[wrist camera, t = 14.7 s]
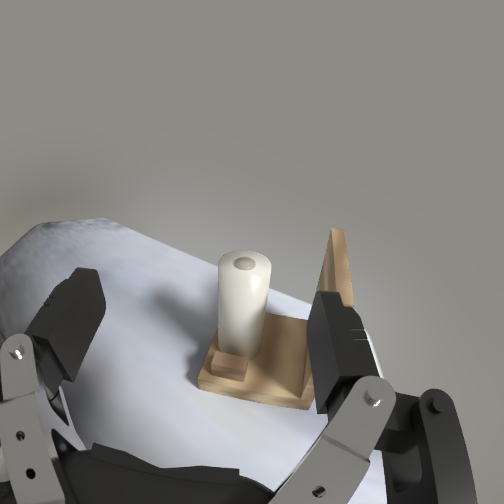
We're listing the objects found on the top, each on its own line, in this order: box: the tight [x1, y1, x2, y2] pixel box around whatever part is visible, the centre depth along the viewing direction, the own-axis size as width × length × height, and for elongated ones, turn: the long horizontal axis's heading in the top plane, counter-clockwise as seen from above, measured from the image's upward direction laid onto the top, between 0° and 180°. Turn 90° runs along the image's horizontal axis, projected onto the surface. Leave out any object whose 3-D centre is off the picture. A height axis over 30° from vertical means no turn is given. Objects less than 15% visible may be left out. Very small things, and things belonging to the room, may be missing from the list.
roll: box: [218, 250, 271, 359], centre depth 35 cm, size 6×6×13 cm
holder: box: [198, 228, 354, 410], centre depth 34 cm, size 14×14×18 cm
